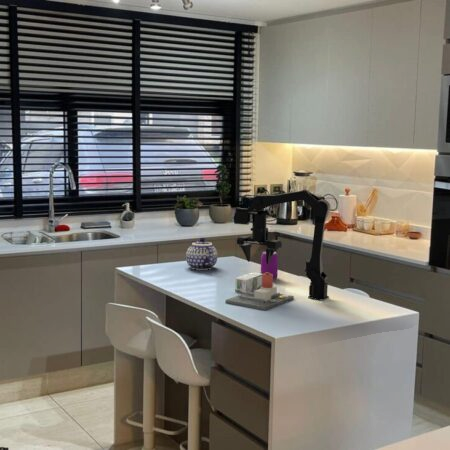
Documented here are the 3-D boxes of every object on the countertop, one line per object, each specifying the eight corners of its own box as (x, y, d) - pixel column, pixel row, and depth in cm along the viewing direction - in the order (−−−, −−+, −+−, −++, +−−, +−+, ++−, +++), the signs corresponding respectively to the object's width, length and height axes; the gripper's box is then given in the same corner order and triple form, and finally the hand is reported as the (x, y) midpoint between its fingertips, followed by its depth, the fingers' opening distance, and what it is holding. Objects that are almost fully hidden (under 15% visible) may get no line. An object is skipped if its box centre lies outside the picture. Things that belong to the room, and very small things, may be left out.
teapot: (225, 272, 328) (225, 241, 326) (194, 274, 323) (194, 243, 321) (208, 262, 351) (208, 232, 349) (179, 263, 346) (179, 234, 344)
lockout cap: (274, 286, 281) (275, 272, 281) (269, 288, 278) (269, 274, 277) (265, 284, 284) (265, 270, 283) (259, 286, 280) (259, 272, 279)
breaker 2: (276, 295, 281) (276, 286, 281) (270, 297, 278) (271, 288, 277) (265, 293, 284) (266, 285, 284) (260, 295, 281) (260, 287, 280)
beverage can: (265, 275, 322) (265, 250, 321) (280, 278, 319) (281, 252, 317) (257, 278, 316) (258, 252, 314) (272, 281, 312) (273, 254, 310)
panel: (293, 299, 281) (293, 293, 281) (265, 310, 263) (265, 304, 263) (255, 292, 291) (255, 287, 291) (225, 302, 273) (225, 297, 273)
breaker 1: (270, 299, 275) (271, 290, 274) (265, 301, 271) (265, 292, 271) (260, 297, 278) (260, 288, 277) (254, 299, 274) (254, 290, 274)
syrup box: (251, 271, 303) (234, 277, 291) (263, 273, 300) (246, 279, 288) (251, 284, 304) (233, 291, 292) (263, 286, 301) (246, 293, 289)
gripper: (289, 225, 288) (287, 262, 290) (250, 221, 298) (249, 257, 300) (275, 228, 279) (274, 267, 281) (236, 224, 289) (235, 261, 291)
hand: (258, 263), depth 289 cm, fingers open, 9 cm apart
